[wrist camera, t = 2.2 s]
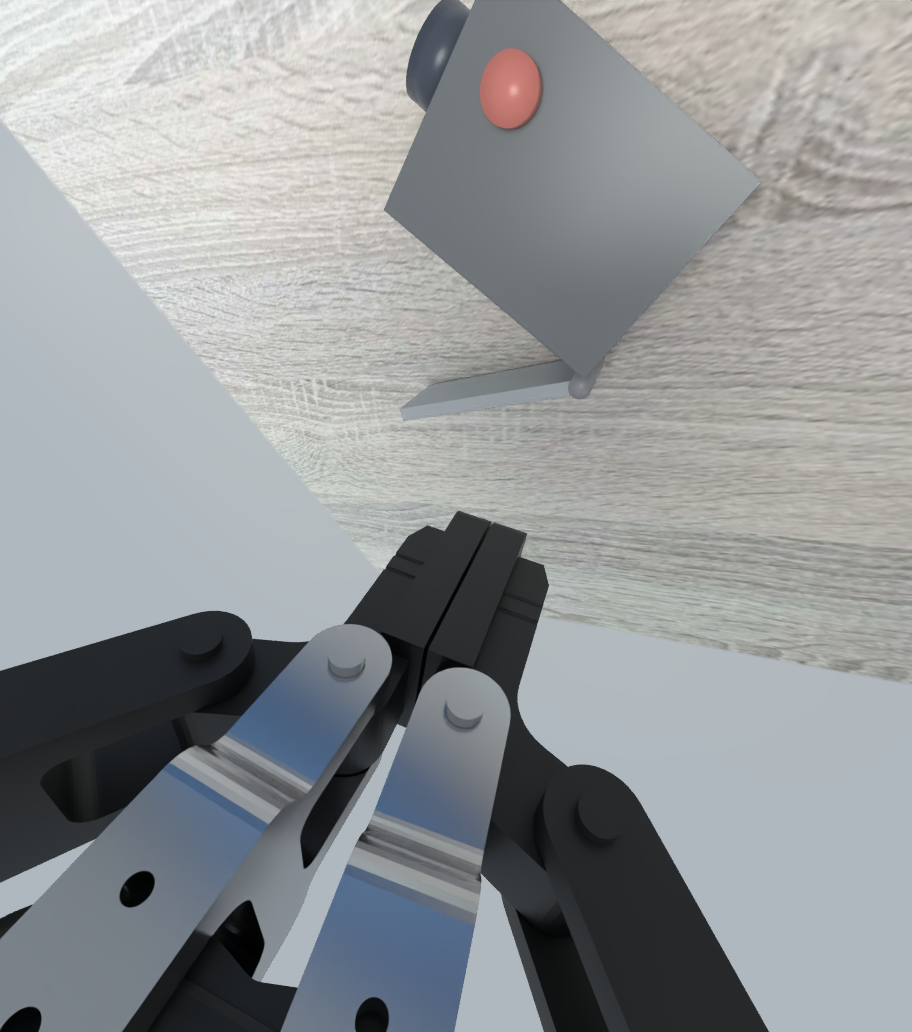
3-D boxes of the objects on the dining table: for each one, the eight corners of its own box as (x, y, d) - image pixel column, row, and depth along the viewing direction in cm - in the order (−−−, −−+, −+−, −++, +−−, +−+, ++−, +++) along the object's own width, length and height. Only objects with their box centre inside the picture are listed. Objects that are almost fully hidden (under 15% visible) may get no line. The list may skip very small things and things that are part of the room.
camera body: (746, 181, 24) (763, 181, 18) (599, 348, 30) (580, 384, 25) (503, -37, 23) (448, -103, 17) (405, 183, 29) (342, 184, 24)
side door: (602, 348, 30) (589, 375, 26) (605, 368, 30) (592, 397, 26) (431, 380, 35) (397, 407, 31) (436, 397, 35) (403, 425, 31)
